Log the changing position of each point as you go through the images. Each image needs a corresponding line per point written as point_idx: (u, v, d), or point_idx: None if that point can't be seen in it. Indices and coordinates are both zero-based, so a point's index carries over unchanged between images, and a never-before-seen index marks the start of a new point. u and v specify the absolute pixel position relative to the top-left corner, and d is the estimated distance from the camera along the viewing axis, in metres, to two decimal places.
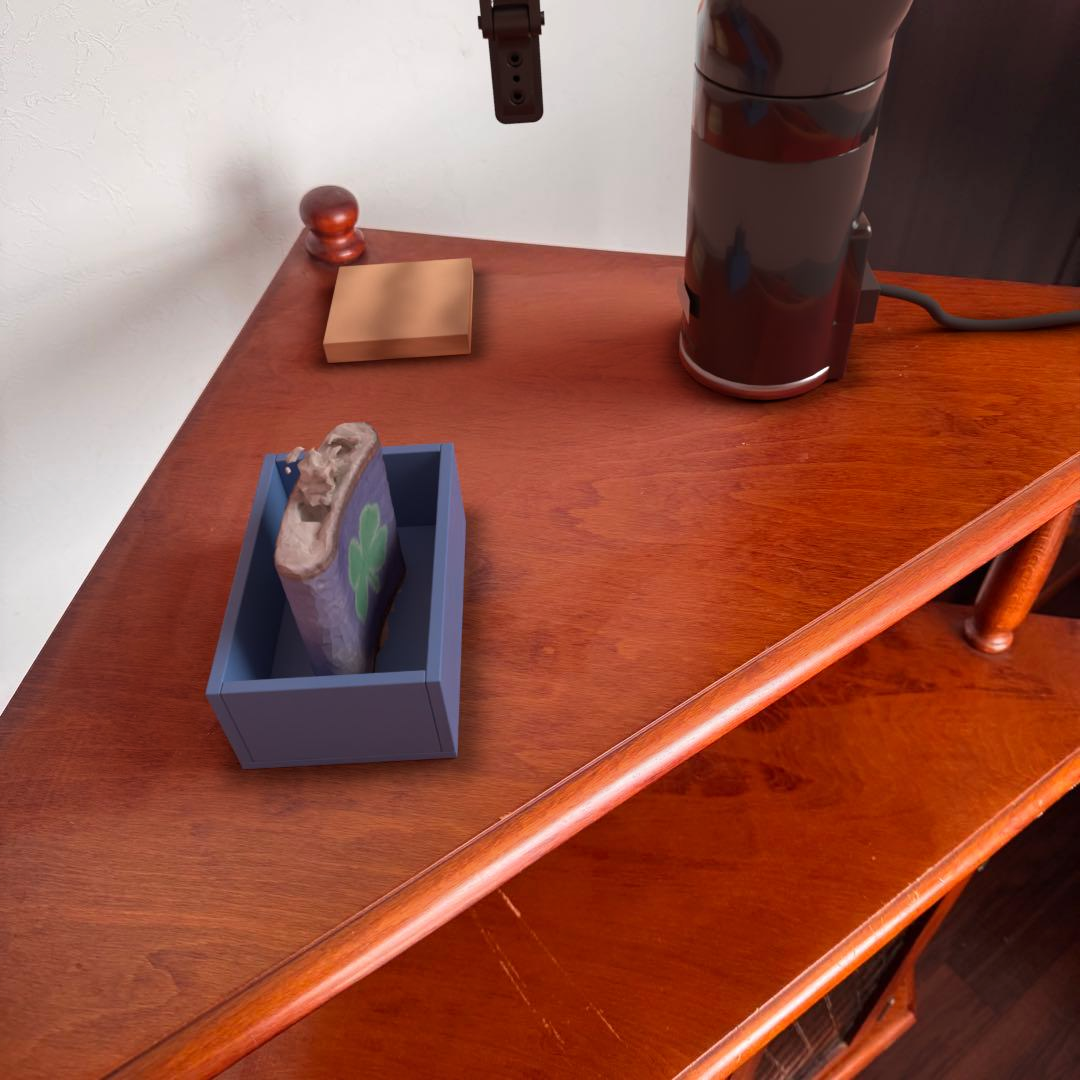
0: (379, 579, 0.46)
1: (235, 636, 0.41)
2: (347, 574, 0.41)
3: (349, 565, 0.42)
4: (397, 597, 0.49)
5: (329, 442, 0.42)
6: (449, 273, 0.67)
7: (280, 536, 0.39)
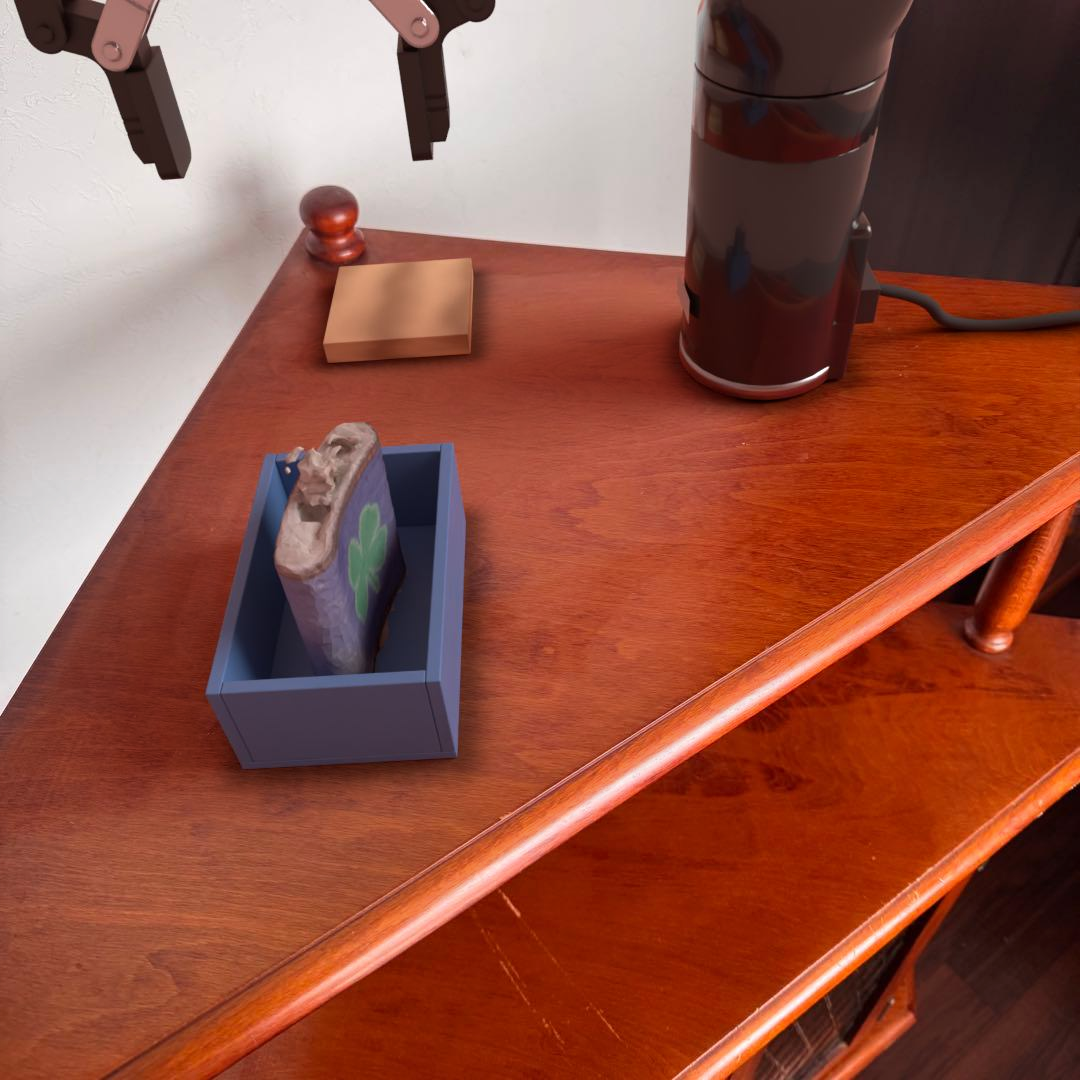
0: (379, 578, 0.46)
1: (235, 636, 0.41)
2: (347, 574, 0.41)
3: (349, 565, 0.42)
4: (397, 597, 0.49)
5: (329, 442, 0.42)
6: (449, 273, 0.67)
7: (280, 536, 0.39)
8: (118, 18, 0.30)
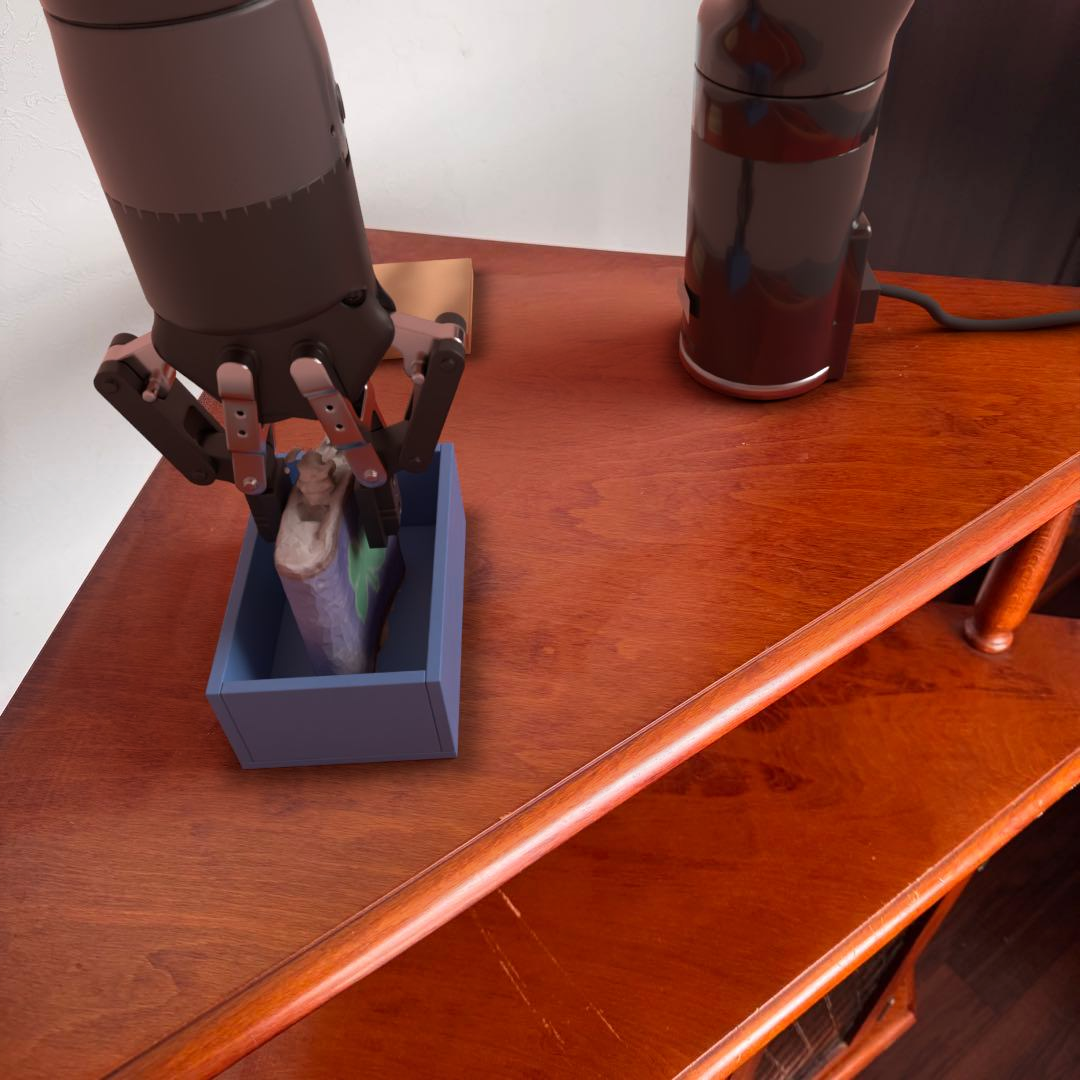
0: (379, 578, 0.46)
1: (235, 636, 0.41)
2: (347, 573, 0.41)
3: (349, 564, 0.42)
4: (397, 597, 0.49)
5: (328, 441, 0.42)
6: (449, 273, 0.67)
7: (280, 535, 0.39)
8: (244, 463, 0.38)
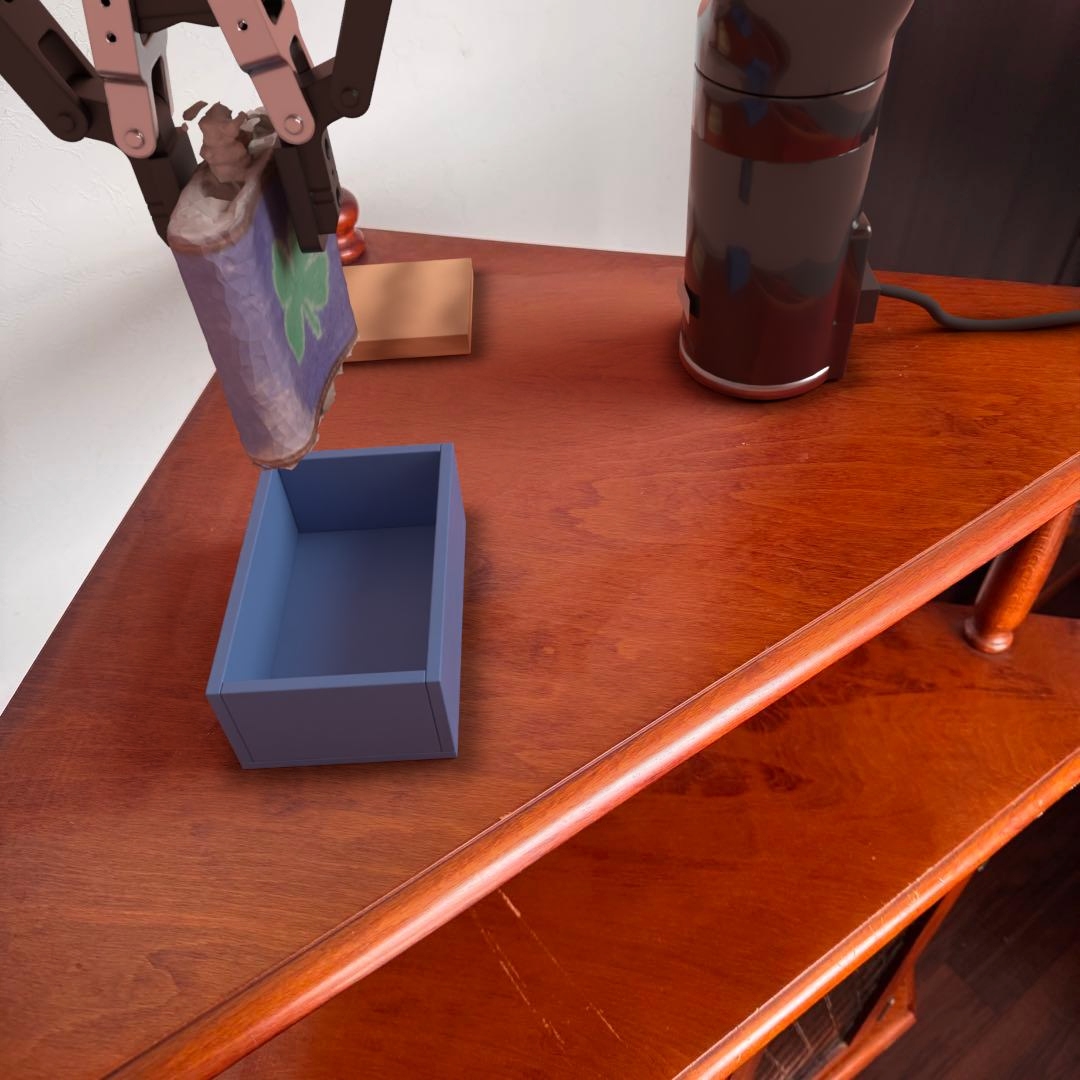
0: (320, 322, 0.37)
1: (235, 636, 0.41)
2: (270, 276, 0.32)
3: (273, 268, 0.32)
4: (397, 597, 0.49)
5: None
6: (449, 273, 0.67)
7: (176, 209, 0.30)
8: (123, 102, 0.29)
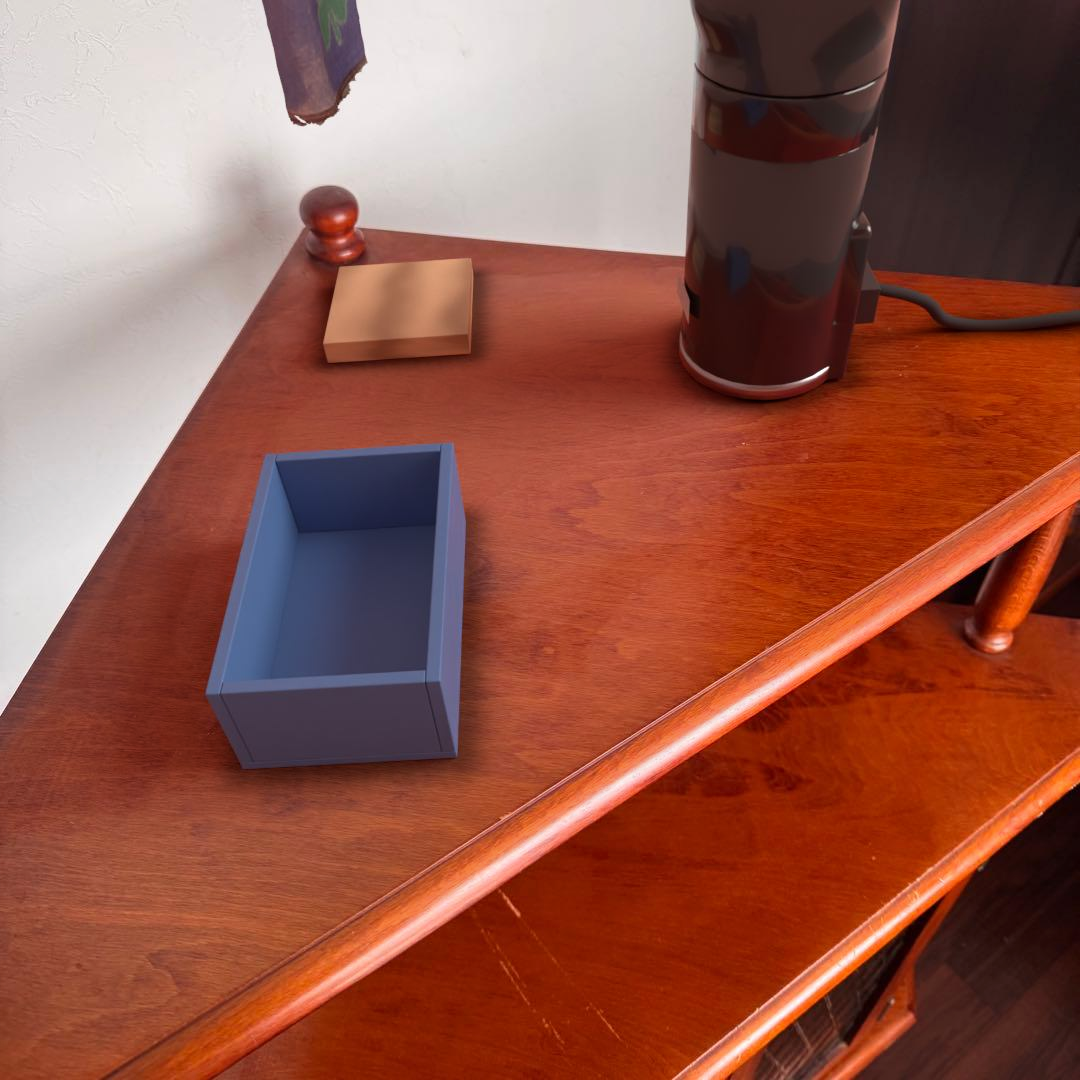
0: (341, 34, 0.52)
1: (235, 636, 0.41)
2: None
3: None
4: (397, 597, 0.49)
5: None
6: (449, 273, 0.67)
7: None
8: None
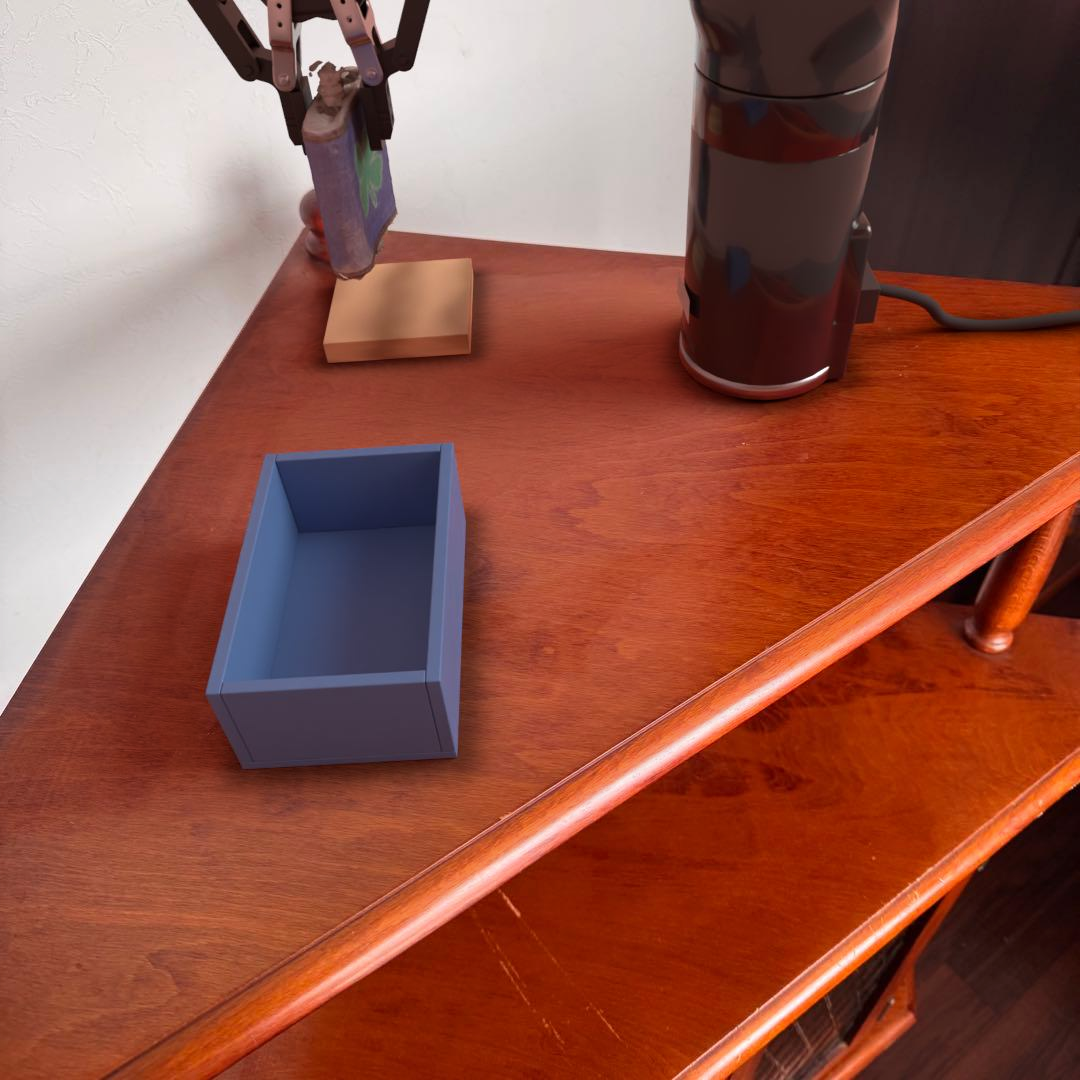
0: (377, 198, 0.61)
1: (235, 636, 0.41)
2: (354, 161, 0.56)
3: (355, 157, 0.57)
4: (397, 597, 0.49)
5: None
6: (449, 273, 0.67)
7: (306, 119, 0.54)
8: (280, 60, 0.53)
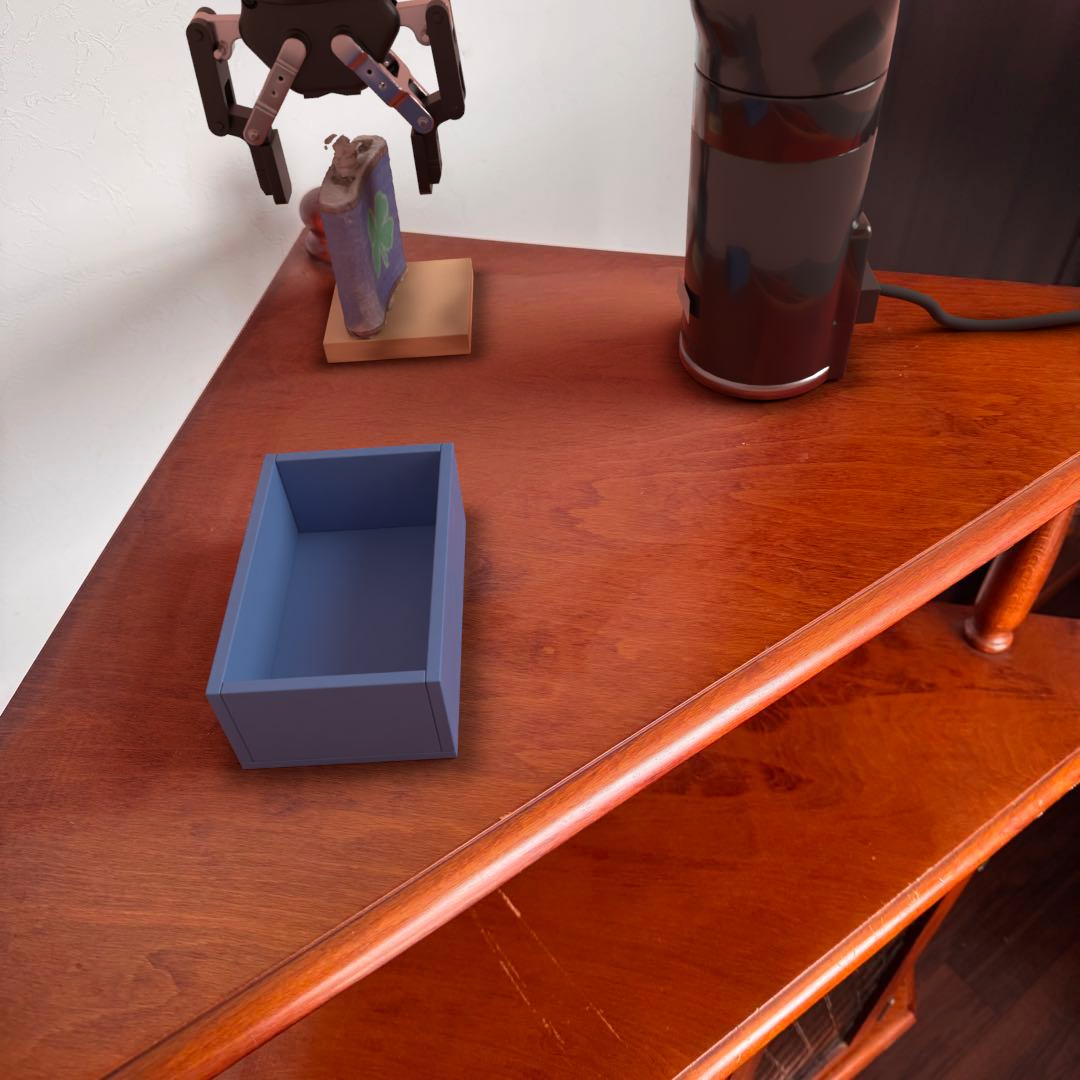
0: (388, 258, 0.64)
1: (235, 636, 0.41)
2: (367, 228, 0.59)
3: (368, 224, 0.59)
4: (397, 597, 0.49)
5: (353, 141, 0.60)
6: (449, 273, 0.67)
7: (321, 190, 0.57)
8: (258, 118, 0.55)
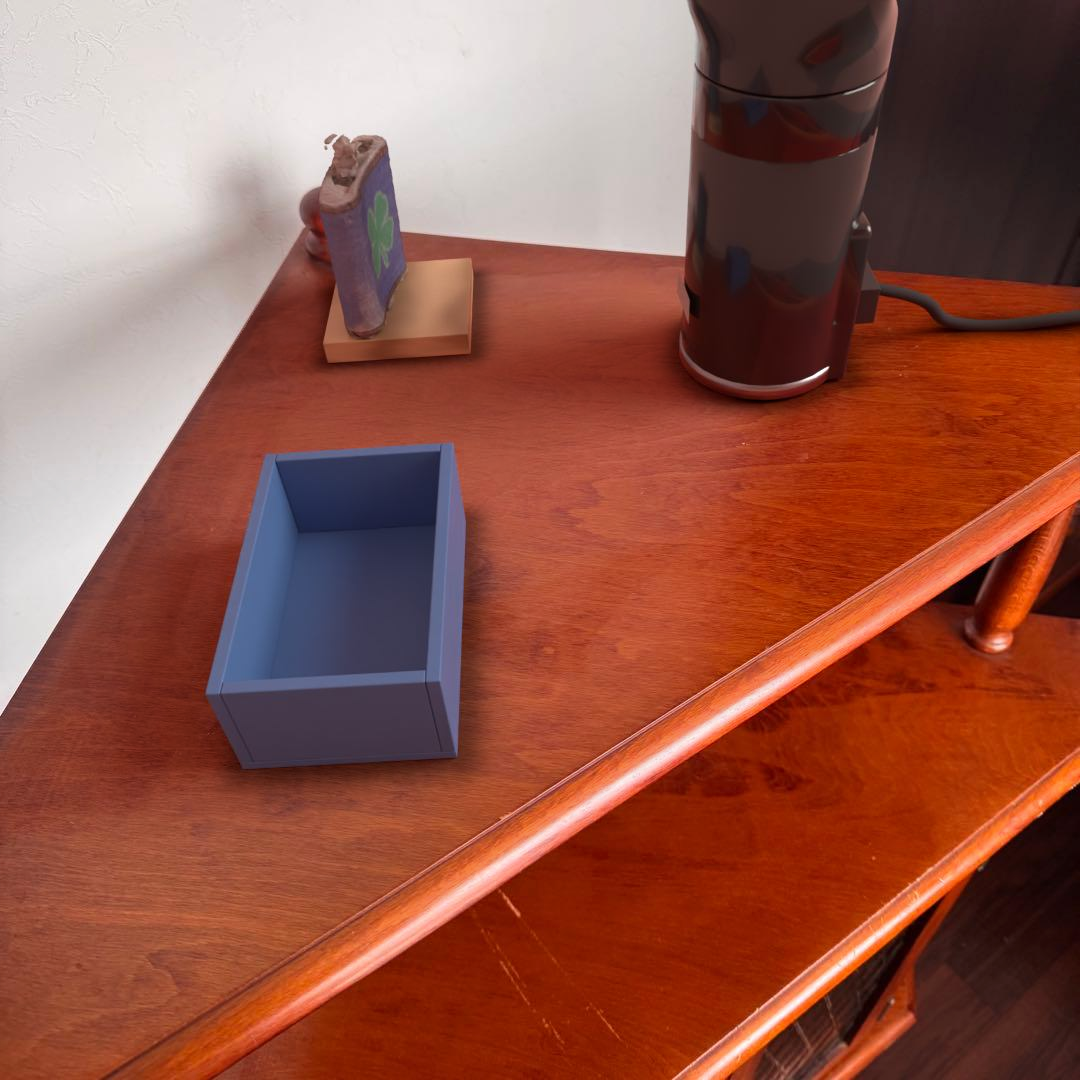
0: (388, 258, 0.64)
1: (235, 636, 0.41)
2: (367, 228, 0.59)
3: (368, 224, 0.59)
4: (397, 597, 0.49)
5: (353, 141, 0.60)
6: (449, 273, 0.67)
7: (321, 190, 0.57)
8: None
